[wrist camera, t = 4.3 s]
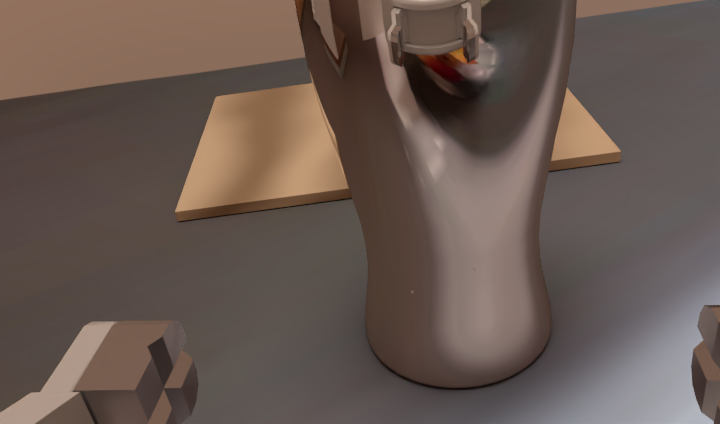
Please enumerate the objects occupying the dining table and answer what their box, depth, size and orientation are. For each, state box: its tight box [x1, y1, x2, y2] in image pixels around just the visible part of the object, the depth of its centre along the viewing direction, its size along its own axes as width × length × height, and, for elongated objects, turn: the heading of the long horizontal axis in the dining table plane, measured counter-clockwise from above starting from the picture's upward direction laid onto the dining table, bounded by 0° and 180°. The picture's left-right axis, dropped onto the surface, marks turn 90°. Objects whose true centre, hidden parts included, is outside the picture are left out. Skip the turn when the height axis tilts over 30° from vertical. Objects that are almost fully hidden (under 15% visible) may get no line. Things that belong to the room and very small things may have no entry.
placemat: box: [175, 83, 621, 221], centre depth 37 cm, size 20×14×1 cm
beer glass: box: [295, 0, 577, 388], centre depth 19 cm, size 7×7×15 cm
